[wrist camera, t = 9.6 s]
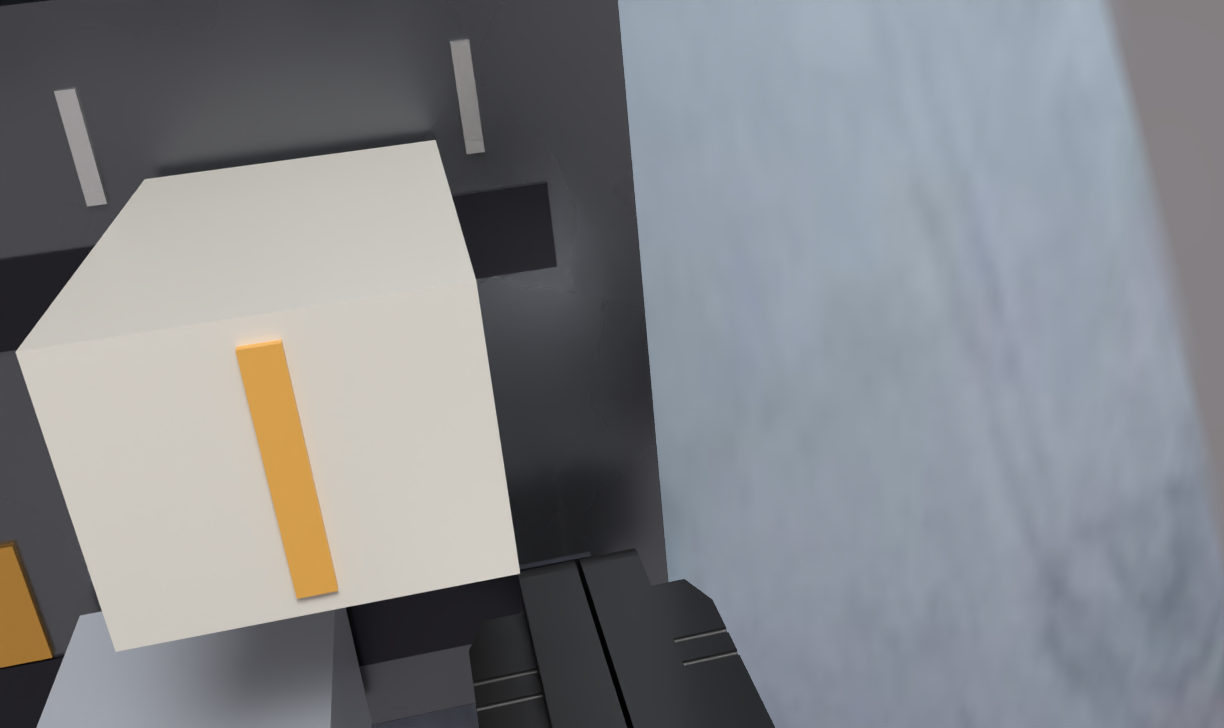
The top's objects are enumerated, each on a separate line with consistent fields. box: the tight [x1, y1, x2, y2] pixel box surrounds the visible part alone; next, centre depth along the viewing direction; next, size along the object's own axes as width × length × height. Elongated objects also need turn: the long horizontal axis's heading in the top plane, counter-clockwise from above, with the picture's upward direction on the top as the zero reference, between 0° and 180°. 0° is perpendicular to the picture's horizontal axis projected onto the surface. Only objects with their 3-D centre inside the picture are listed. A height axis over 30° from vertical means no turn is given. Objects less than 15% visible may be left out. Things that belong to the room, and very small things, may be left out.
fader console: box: [0, 0, 668, 728], centre depth 14 cm, size 10×12×2 cm
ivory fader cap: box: [16, 140, 520, 652], centre depth 10 cm, size 2×3×5 cm
